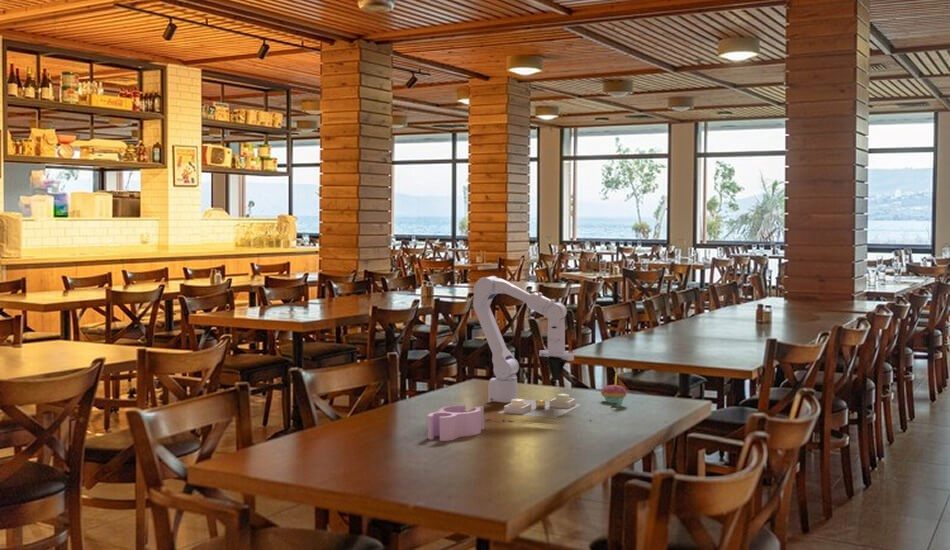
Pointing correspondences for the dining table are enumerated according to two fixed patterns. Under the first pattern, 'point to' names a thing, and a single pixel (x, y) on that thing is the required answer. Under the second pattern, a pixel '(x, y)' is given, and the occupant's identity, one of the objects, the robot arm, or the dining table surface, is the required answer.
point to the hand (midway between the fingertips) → (556, 379)
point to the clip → (455, 422)
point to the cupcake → (614, 393)
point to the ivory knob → (518, 402)
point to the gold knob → (540, 404)
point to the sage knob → (562, 397)
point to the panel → (551, 409)
